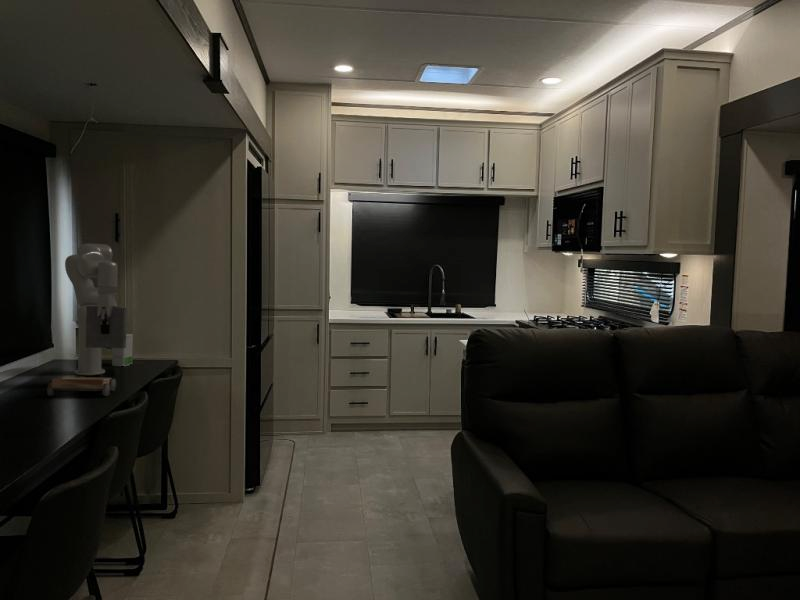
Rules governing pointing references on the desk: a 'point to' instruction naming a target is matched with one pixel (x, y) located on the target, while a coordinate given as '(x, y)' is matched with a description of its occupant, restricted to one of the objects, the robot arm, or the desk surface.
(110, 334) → the grey upright notched slab
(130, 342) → the skincare box
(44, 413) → the desk surface
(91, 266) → the robot arm
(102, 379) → the dolly
